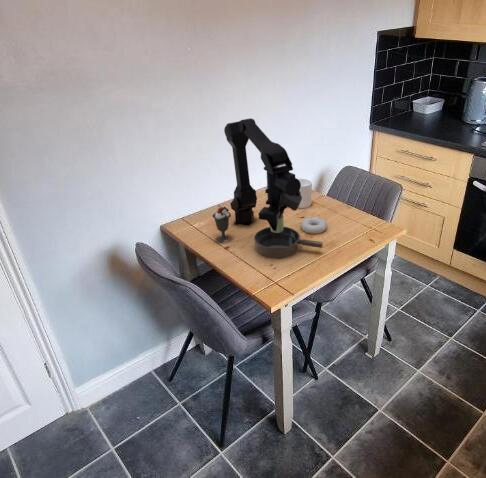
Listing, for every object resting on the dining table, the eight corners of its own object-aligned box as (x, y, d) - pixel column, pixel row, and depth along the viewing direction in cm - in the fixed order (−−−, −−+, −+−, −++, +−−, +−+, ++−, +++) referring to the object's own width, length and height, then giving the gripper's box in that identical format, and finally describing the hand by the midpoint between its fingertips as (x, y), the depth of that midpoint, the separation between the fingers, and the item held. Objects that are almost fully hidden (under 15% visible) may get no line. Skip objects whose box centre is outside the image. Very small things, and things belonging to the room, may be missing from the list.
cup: (314, 206, 183) (315, 184, 178) (289, 211, 179) (288, 189, 174) (306, 199, 190) (306, 177, 185) (281, 204, 186) (280, 182, 181)
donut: (298, 234, 162) (325, 236, 160) (298, 226, 160) (325, 228, 159) (303, 222, 171) (328, 224, 169) (303, 214, 169) (328, 216, 167)
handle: (297, 245, 150) (297, 240, 149) (299, 242, 151) (299, 237, 150) (321, 249, 147) (321, 244, 146) (322, 246, 149) (322, 241, 148)
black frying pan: (248, 255, 150) (247, 244, 147) (264, 234, 163) (263, 223, 161) (292, 263, 145) (292, 251, 143) (305, 240, 158) (305, 229, 156)
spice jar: (268, 231, 149) (267, 214, 146) (273, 225, 153) (272, 209, 150) (281, 233, 148) (280, 216, 145) (285, 227, 152) (285, 210, 148)
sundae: (218, 245, 156) (214, 208, 149) (212, 237, 161) (208, 201, 154) (235, 241, 159) (232, 204, 151) (228, 233, 164) (225, 197, 156)
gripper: (290, 199, 132) (291, 243, 140) (306, 177, 148) (306, 218, 155) (256, 195, 135) (259, 238, 143) (276, 174, 151) (277, 214, 158)
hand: (276, 227), depth 150 cm, fingers closed on spice jar, 4 cm apart
